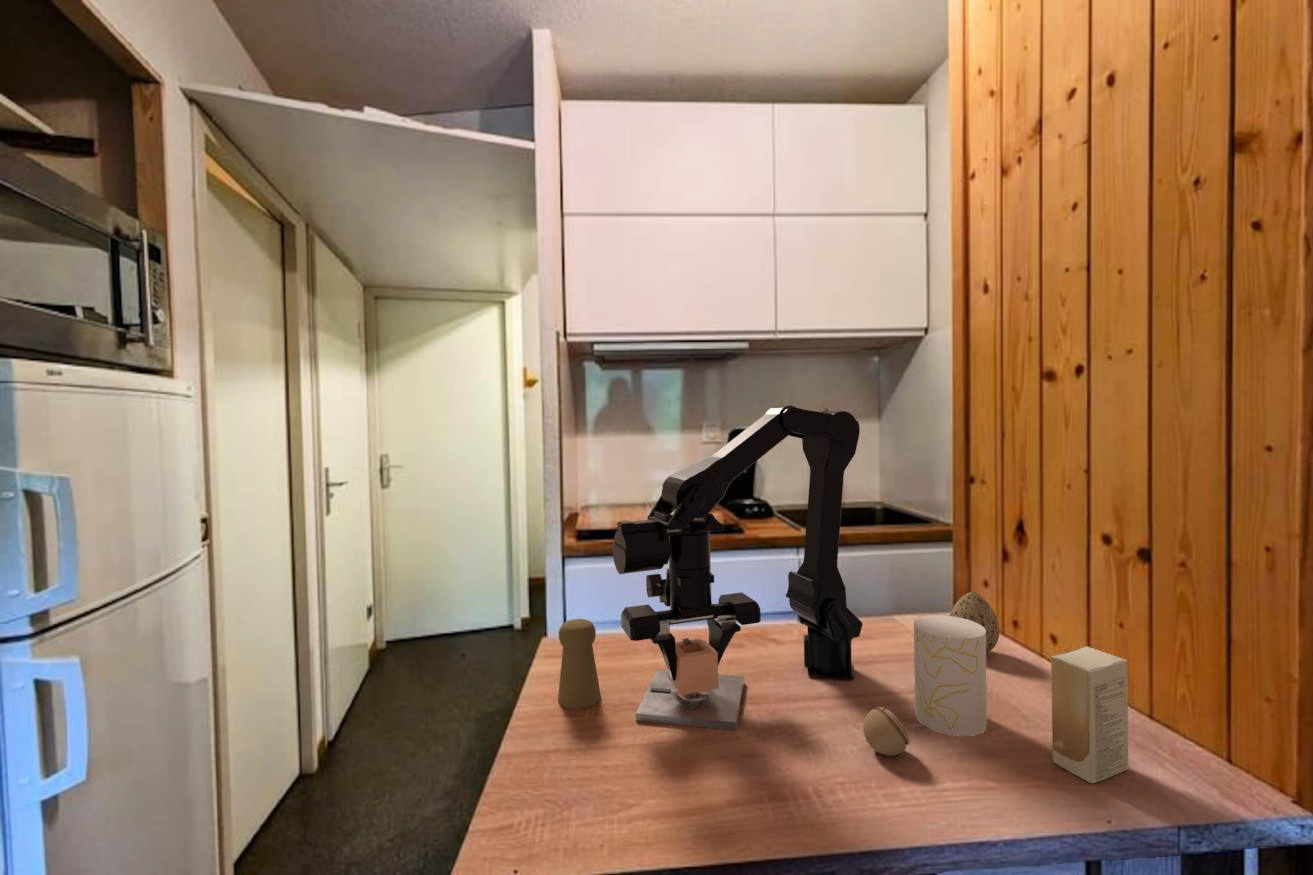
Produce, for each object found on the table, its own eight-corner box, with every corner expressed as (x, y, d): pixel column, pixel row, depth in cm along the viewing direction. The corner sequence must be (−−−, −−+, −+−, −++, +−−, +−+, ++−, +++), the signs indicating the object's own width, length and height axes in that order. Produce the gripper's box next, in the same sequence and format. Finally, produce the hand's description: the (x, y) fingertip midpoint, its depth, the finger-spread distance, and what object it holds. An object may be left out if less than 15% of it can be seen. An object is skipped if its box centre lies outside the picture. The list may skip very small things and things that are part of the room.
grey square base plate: (744, 682, 85) (743, 656, 85) (735, 730, 72) (735, 698, 72) (658, 676, 88) (657, 650, 88) (635, 720, 75) (634, 690, 75)
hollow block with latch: (718, 688, 78) (717, 650, 78) (680, 695, 77) (679, 656, 76) (703, 671, 83) (702, 635, 83) (668, 677, 82) (667, 641, 82)
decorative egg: (1003, 651, 93) (1003, 590, 93) (994, 666, 88) (994, 602, 87) (955, 641, 98) (954, 583, 97) (943, 655, 92) (943, 593, 92)
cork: (593, 710, 78) (590, 630, 78) (551, 707, 79) (548, 628, 79) (606, 689, 84) (603, 615, 84) (566, 686, 85) (564, 613, 85)
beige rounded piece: (906, 769, 63) (905, 725, 63) (859, 757, 66) (858, 714, 66) (912, 747, 68) (911, 705, 67) (868, 736, 70) (867, 695, 70)
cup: (905, 721, 73) (904, 628, 73) (927, 697, 79) (926, 610, 79) (976, 744, 68) (975, 643, 67) (994, 716, 74) (993, 624, 73)
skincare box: (1088, 749, 66) (1088, 644, 66) (1130, 771, 62) (1130, 659, 62) (1049, 762, 64) (1048, 654, 63) (1090, 785, 60) (1090, 669, 59)
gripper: (727, 546, 90) (730, 644, 90) (610, 558, 84) (614, 663, 85) (761, 562, 79) (763, 674, 80) (629, 577, 74) (633, 697, 74)
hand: (692, 676), depth 80 cm, fingers closed on hollow block with latch, 5 cm apart
